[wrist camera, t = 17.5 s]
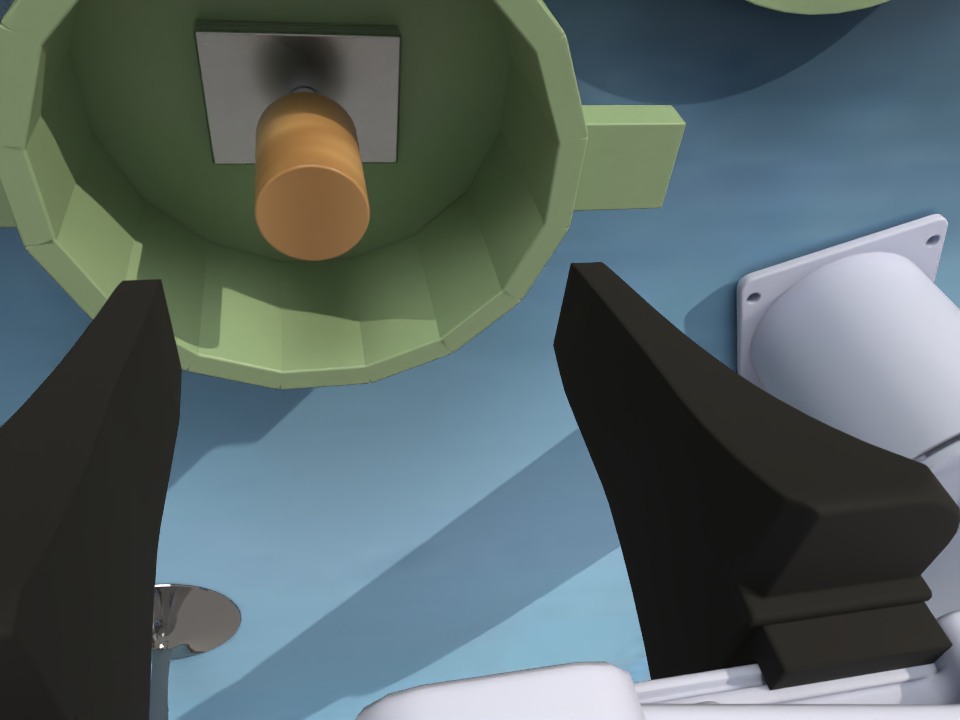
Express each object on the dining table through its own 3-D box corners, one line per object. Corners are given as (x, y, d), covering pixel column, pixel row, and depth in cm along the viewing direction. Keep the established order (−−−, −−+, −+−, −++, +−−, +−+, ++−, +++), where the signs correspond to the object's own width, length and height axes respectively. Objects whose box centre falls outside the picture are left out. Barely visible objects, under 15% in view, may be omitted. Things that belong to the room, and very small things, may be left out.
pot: (576, 256, 27) (628, 365, 23) (15, 280, 23) (-34, 414, 20) (667, -166, 19) (773, -105, 15) (-188, -231, 15) (-345, -172, 11)
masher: (399, 24, 20) (434, 137, 16) (395, 152, 22) (425, 278, 18) (194, 18, 19) (173, 138, 15) (213, 153, 21) (201, 288, 17)
